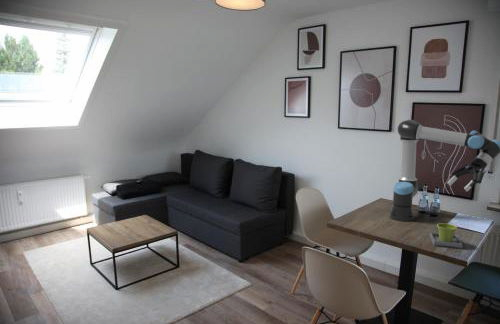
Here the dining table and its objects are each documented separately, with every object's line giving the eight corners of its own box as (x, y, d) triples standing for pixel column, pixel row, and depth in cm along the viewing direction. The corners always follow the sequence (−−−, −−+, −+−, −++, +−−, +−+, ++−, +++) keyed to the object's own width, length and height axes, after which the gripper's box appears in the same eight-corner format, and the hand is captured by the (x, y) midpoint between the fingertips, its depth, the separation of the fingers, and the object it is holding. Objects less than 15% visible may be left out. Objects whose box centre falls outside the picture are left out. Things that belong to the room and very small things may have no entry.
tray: (433, 245, 184) (434, 241, 183) (429, 236, 196) (430, 232, 196) (462, 248, 180) (462, 244, 179) (456, 239, 192) (456, 235, 191)
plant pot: (432, 238, 192) (433, 223, 190) (447, 237, 193) (449, 222, 191) (442, 245, 183) (444, 229, 181) (459, 244, 184) (461, 228, 182)
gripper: (503, 169, 195) (477, 196, 195) (468, 162, 219) (445, 186, 219) (496, 161, 193) (469, 188, 193) (462, 154, 217) (438, 178, 217)
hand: (456, 187), depth 206 cm, fingers open, 13 cm apart
